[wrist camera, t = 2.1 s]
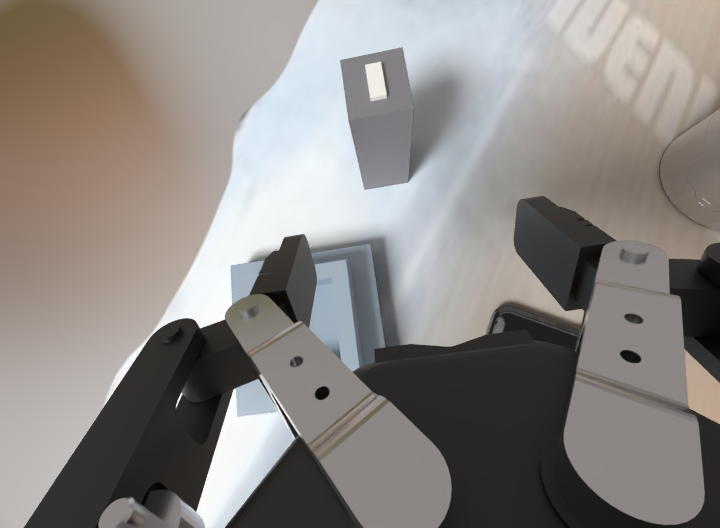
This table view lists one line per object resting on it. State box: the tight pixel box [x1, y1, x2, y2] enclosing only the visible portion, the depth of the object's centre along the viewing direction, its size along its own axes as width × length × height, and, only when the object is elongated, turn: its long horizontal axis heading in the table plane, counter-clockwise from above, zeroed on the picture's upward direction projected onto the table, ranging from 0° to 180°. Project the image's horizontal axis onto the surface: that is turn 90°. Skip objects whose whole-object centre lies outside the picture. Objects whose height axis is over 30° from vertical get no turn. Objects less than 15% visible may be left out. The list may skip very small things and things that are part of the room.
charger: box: [340, 47, 414, 190], centre depth 24 cm, size 4×4×10 cm
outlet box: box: [231, 244, 386, 417], centre depth 25 cm, size 12×12×4 cm
